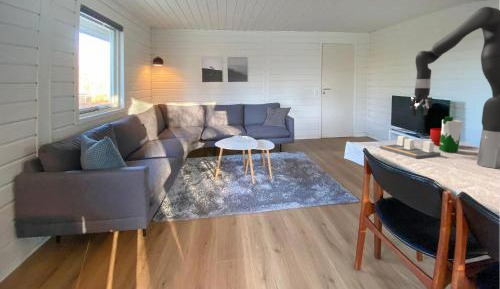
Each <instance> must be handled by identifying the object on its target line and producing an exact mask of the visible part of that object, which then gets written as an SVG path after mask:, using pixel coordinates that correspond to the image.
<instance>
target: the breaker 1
mask: <svg viewBox="0 0 500 289" xmlns="http://www.w3.org/2000/svg"><path fill="white" fill-rule="evenodd" d="M405 139H408V136H407V135H406V136H405V135H398V136H397V141H396V143H395V144H396V145H400V146H404V142H405Z"/></svg>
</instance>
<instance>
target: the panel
mask: <svg viewBox="0 0 500 289" xmlns="http://www.w3.org/2000/svg"><path fill="white" fill-rule="evenodd" d="M396 144H397V143H395V144H386V145H379V149H380V148H382V149H381V150H384V151H387V152H390V153H391V152H392V153H395V154H399V155H401V156H405V157H409V158H412V159H416V160H417V159H423V158H432V157H440V156H441V154H442V153H441V152H439V151H434V150H433V151H434V152H431V153H428V152H424V151H422V150H423V147H419V146H414V149H412V150H408V149H404V148H403V147H404V146H400V145H396Z"/></svg>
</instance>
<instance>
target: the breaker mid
mask: <svg viewBox="0 0 500 289" xmlns="http://www.w3.org/2000/svg"><path fill="white" fill-rule="evenodd" d="M414 147H415V139H411V138H407V139H405V142H404V147H403V148H404V149H408V150H412V149H414Z"/></svg>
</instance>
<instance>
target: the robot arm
mask: <svg viewBox="0 0 500 289" xmlns="http://www.w3.org/2000/svg"><path fill="white" fill-rule="evenodd" d="M479 29H481V30H482V35H483V47H482V51H481V53H480V64H481V69H482V70H481V71H482V73H483V75H484V77H485V79H486V80H487V83H488V84H489V86H490V89H491V92H492V94H491V95H492V97H489V98H488V99H487V100H485V103H484V104H483V109H482V115H481V125H482V130H481V136H480V142H479V147H478V148H479V149H478V153H477V160H476V164H477V166H481V167H485V168H486V167H487V168H492V169H498V168H499V169H500V9H498V8H497V7H491V6H484V7H481V8H479V9H477V11H474V13H473V14H472V15H470V16H469V17H468V18H467V19H466V20H464V22H462V23H461V24H460V25H459V26H457V28H455V29H454V30H453V31H452V32H450V33H449V34H447V35H446V36H444V37H442V38H441V39H440V40H439V41H437V42H435V43H434V44H433V45H432V48H431V49H430V50H421V51H418V53H417V54H416V56H415V66H416V67H415V68H416V79H415V85H414V97H410V100H409V109H410V110H411V116H412V117H415V116H417V110H418V107H420V106H422V107H423V112H422V115H423V116H428V113H429V109H430V108H432V106H433V97H432V96H431V97H430V91H431V78H432V77H431V76H432V69H431V68H429V65H430V64H432V63H435V62H436V61H437V60H438V59H439V58H441V56H442V55H444V54H445V53H448V52H449V51H451V50H452V49H453V48H455V47H456V46H457V45H458V44H460V42H461V41H462V40H463V39H464V38H465V37H467V35H469V34H471V33H473V32H475V31H476V30H479ZM428 96H429V97H428Z"/></svg>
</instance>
